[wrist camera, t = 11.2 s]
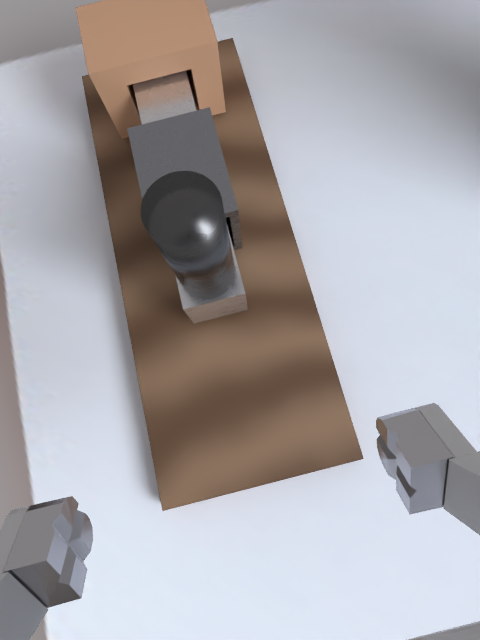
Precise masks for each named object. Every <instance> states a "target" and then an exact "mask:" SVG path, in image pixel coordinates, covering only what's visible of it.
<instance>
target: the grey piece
mask: <svg viewBox="0 0 480 640" xmlns="http://www.w3.org/2000/svg"><path fill="white" fill-rule="evenodd" d="M133 88H134V92H135V97H136V101H137V105H138V110H139V114H140V119H141V123H142V124H146V123H150V122H154V121H158V120H162V119H165V118H169V117H173V116H177V115H181V114H185V113H189V112H193V111H197V110H196V107H195V103H194V99H193V95H192V92H191V88H190V84H189V80H188V77H187V73H186V71H182V72H178V73H174V74H170V75H166V76H162V77H158V78H154V79H150V80H146V81H143V82H139V83H135V84H133ZM141 219H142V222H143V225H144V227H145V228H146V230H147V231H148V233H149V235H150V236H151V238H152V239H153V241H154V242H155V244H156V246H157V247H158V249H159V250H160V252H161V253H162V255H163V257H164V258H165V260H166V261H167V263H168V264H169V266H170V268H171V269H172V271H173V272H174V274H175V276H176V280H177V284H178V289H179V293H180V298H181V302H182V307H183V310H184V311H185V313H186V314H187V315H188V316H189V318H190V319H191V320H192V322H193V323H194V324H195V323H199V322H203V321H206V320H210V319H214V318H218V317H222V316H226V315H230V314H234V313H237V312H241V311H245V310H248V308H247V301H246V294H245V290H244V286H243V283H242V279H241V275H240V271H239V268H238V264H237V260H236V256H235V253H234V249H233V245H232V241H231V238H230V234H229V230H228V226H227V223H226V217H225V212H224V207H223V202H222V197H221V194H220V191H219V190H218V188H217V186H216V185H215V184H214V183H213V182H212V181H211V180H210V179H209V178H207V177H206V176H204V175H202V174H200V173H197V172H193V171H176V172H172V173H169V174H166V175H164V176H162V177H160V178H159V179H157V180H156V181H155V182H154V183H153V184H152V185H151V186H150V187H149V188H148V189H147V191H146V193H145V195H144V197H143V199H142V203H141Z"/></svg>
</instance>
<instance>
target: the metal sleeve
mask: <svg viewBox="0 0 480 640" xmlns="http://www.w3.org/2000/svg"><path fill="white" fill-rule="evenodd" d="M127 130H128V135H129V139H130V144H131V149H132V154H133V158H134V163H135V168H136V172H137V177H138V182H139V187H140V191H141V196H142V199H143V197H144V195H145V193H146V191H147V189H148V188H149V187H150V186H151V185H152V184H153V183H154V182H155V181H156V180H157V179H159V178H160V177H162V176H164V175H166V174H169V173H172V172H176V171H193V172H197V173H200V174H202V175H204V176H206V177H207V178H209V179H210V180H211V181H212V182H213V183H214V184H215V185H216V186H217V188H218V190H219V191H220V194H221V197H222V202H223V207H224V212H225V217H226V223H227V226H228V230H229V234H230V238H231V241H232V245H233V249H234V250H238V249H242V248H243V245H242V236H241V228H240V219H239V211H238V207H237V203H236V200H235V196H234V192H233V189H232V185H231V182H230V178H229V174H228V171H227V167H226V164H225V160H224V156H223V153H222V149H221V146H220V142H219V138H218V135H217V131H216V128H215V124H214V120H213V117H212V113H211V110H210V107H208V108H204V109H201V110H197V111H193V112H189V113H185V114H181V115H177V116H173V117H169V118H165V119H162V120H158V121H154V122H150V123H146V124H142V125H138V126H134V127H130V128H127Z"/></svg>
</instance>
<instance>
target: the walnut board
mask: <svg viewBox="0 0 480 640" xmlns="http://www.w3.org/2000/svg"><path fill="white" fill-rule="evenodd" d="M217 43H218V51H219V59H220V68H221V76H222V84H223V92H224V100H225V109H226V112H224V113H220V114H216V115H212V117H213V120H214V124H215V128H216V131H217V135H218V138H219V142H220V146H221V149H222V153H223V156H224V160H225V164H226V167H227V171H228V174H229V178H230V182H231V185H232V189H233V192H234V196H235V200H236V203H237V207H238V211H239V219H240V228H241V236H242V245H243V248H242V249H238V250H234V253H235V256H236V260H237V264H238V268H239V271H240V275H241V279H242V283H243V286H244V290H245V294H246V301H247V308H248V310H245V311H241V312H237V313H234V314H230V315H226V316H222V317H218V318H214V319H210V320H206V321H203V322H199V323H195V324H194V323H193V322H192V320H191V319H190V318H189V316H188V315H187V314H186V313H185V311H184V310H183V307H182V302H181V298H180V293H179V289H178V284H177V280H176V276H175V274H174V272H173V271H172V269H171V268H170V266H169V264H168V263H167V261H166V260H165V258H164V257H163V255H162V253H161V252H160V250H159V249H158V247H157V246H156V244H155V242H154V241H153V239H152V238H151V236H150V235H149V233H148V231H147V230H146V228H145V227H144V225H143V222H142V219H141V203H142V196H141V191H140V187H139V182H138V177H137V172H136V168H135V163H134V158H133V154H132V149H131V144H130V139H129V137H127V138H123V139H122V138H121V136H120V134H119V132H118V130H117V129H116V127H115V125H114V123H113V121H112V119H111V117H110V115H109V113H108V111H107V109H106V107H105V105H104V103H103V101H102V99H101V97H100V96H99V94H98V92H97V90H96V88H95V86H94V84H93V82H92V80H91V78H90V76H89V75H86V76H82V79H83V85H84V90H85V95H86V101H87V106H88V112H89V117H90V122H91V128H92V133H93V139H94V144H95V149H96V155H97V160H98V165H99V171H100V176H101V182H102V187H103V192H104V198H105V203H106V209H107V214H108V219H109V225H110V230H111V236H112V241H113V246H114V252H115V257H116V263H117V268H118V273H119V279H120V284H121V289H122V295H123V300H124V306H125V311H126V316H127V322H128V327H129V333H130V338H131V343H132V349H133V354H134V360H135V365H136V370H137V376H138V381H139V386H140V392H141V397H142V403H143V408H144V413H145V419H146V424H147V430H148V435H149V440H150V446H151V451H152V457H153V462H154V467H155V473H156V478H157V483H158V489H159V494H160V500H161V505H162V510H163V511H164V510H168V509H172V508H176V507H180V506H184V505H187V504H191V503H195V502H199V501H203V500H207V499H211V498H214V497H218V496H222V495H226V494H230V493H234V492H237V491H241V490H245V489H249V488H253V487H257V486H261V485H264V484H268V483H272V482H276V481H280V480H284V479H288V478H291V477H295V476H299V475H303V474H307V473H311V472H315V471H318V470H322V469H326V468H330V467H334V466H338V465H341V464H345V463H349V462H353V461H357V460H361V459H363V456H362V452H361V449H360V446H359V443H358V439H357V436H356V433H355V430H354V427H353V423H352V420H351V417H350V414H349V411H348V407H347V404H346V401H345V398H344V394H343V391H342V388H341V385H340V382H339V378H338V375H337V372H336V369H335V366H334V362H333V359H332V356H331V353H330V349H329V346H328V343H327V340H326V337H325V333H324V330H323V327H322V324H321V321H320V317H319V314H318V311H317V308H316V305H315V301H314V298H313V295H312V292H311V288H310V285H309V282H308V279H307V276H306V272H305V269H304V266H303V263H302V260H301V256H300V253H299V250H298V247H297V243H296V240H295V237H294V234H293V231H292V227H291V224H290V221H289V218H288V215H287V211H286V208H285V205H284V202H283V199H282V195H281V192H280V189H279V186H278V182H277V179H276V176H275V173H274V170H273V166H272V163H271V160H270V157H269V154H268V150H267V147H266V144H265V141H264V137H263V134H262V131H261V128H260V125H259V121H258V118H257V115H256V112H255V109H254V105H253V102H252V99H251V96H250V92H249V89H248V86H247V83H246V80H245V76H244V73H243V70H242V67H241V64H240V60H239V57H238V54H237V51H236V48H235V44H234V41H233V38H231V39H227V40H223V41H219V42H217Z"/></svg>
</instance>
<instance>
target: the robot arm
mask: <svg viewBox="0 0 480 640" xmlns="http://www.w3.org/2000/svg"><path fill="white" fill-rule="evenodd" d="M376 428H377V430H378V432H379V433H380V436H379V437H378V438H377V448H378V452H379V456H380V459H381V461H382V464H383V466H384V468H385V470H386V472H387V474H388V475H389V476H390V477H392V478H394V479H395V480H396V491H397V492H398V494H399V496H400V498H401V500H402V501H403V503H404V505H405V507H406V509H407V511H408V512H409V514H413V513H418V512H422V511H427V510H431V509H436V508H440V507H444V509H445V510H446V511H448V512H449V513H450V514H452V515H453V516H454V517H456V518H457V519H459V520H460V521H461V522H463V523H464V524H465V525H467V526H468V527H469V528H471V529H472V530H474V531H475V532H476V533H478V534H479V535H480V451H479V452H477V451H476V450H475V449H474V448H473V446H472V445H471V444H470V443H469V442H468V440H467V439H466V438H465V437H464V436H463V434H462V433H461V432H460V431H459V430H458V428H457V427H456V426H455V425H454V424H453V422H452V421H451V420H450V419H449V418H448V416H447V415H446V414H445V413H444V412H443V410H442V409H441V408H440V407H439V406H438V405H437V404H435V403H432V404H428V405H424V406H421V407H417V408H411V409H408V410H404V411H400V412H396V413H393V414H389V415H385V416H382V417H378V418H377V420H376ZM77 508H78V503H77V501H76V500H75V499H74V498H73V496H72V497H66V498H62V499H58V500H53V501H49V502H44V503H40V504H36V505H31V506H28V507H24V508H20V509H15V510H12V511H11V512H10V513H9V514H8V515H7V516H6V518H5V521H4V523H3V526H2V528H1V531H0V640H30V638H31V637H32V635H33V634H34V632H35V630H36V629H37V627H38V626H39V624H40V622H41V620H42V619H43V617H44V616H45V614H46V613H47V611H48V609H47V608H49V607H52V606H56V605H59V604H62V603H66V602H69V601H73V600H76V599H80V598H81V597H82V593H83V588H84V583H85V578H86V573H87V568H86V566H85V564H84V562H83V561H84V560H85V558H86V557H87V555H88V554H89V553H90V551H91V547H92V541H93V532H92V525H91V522H90V519H89V518H88V516H87V515H86V514H85V513H83V512H80V511H78V510H77ZM408 640H480V621H479V622H475V623H471V624H467V625H463V626H459V627H455V628H451V629H447V630H443V631H440V632H436V633H432V634H428V635H424V636H420V637H416V638H412V639H408Z"/></svg>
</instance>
